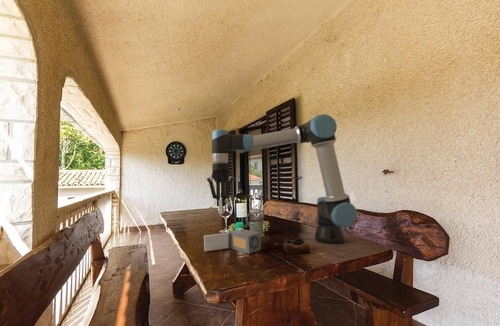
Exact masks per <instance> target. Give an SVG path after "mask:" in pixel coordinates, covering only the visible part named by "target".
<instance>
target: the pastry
mask: <svg viewBox="0 0 500 326" xmlns="http://www.w3.org/2000/svg"><path fill="white" fill-rule="evenodd" d="M282 249H283V251H284V252H285V254H287V255H306V254H310V250H311V247H310V245H309V244H308V242H306V241H305V240H304V239H302V238H300V237H299V238H294V239H293V240H292V239H286V240H284V241H283V243H282Z"/></svg>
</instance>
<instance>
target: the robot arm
mask: <svg viewBox="0 0 500 326" xmlns="http://www.w3.org/2000/svg"><path fill="white" fill-rule="evenodd" d="M337 127H338V125H337V123H336V120H335V118H333V117H332V116H331V115H328V114H325V113H321V114H319V115H316V116H313V118H311V119H310V120H308V121H306V122H305V123H303V124H300V125H296V126H294V128H290V129H284V130H279V131H273V132H268V133H267V132H266V133H262V134H256V135H252V134H247V133H244V134H243V133H240V134H239V133H237V134H229V132H228V130H226V129H214V130H213V131H212V134H211V154H212V155H211V156H212V157H211V159H212V160H211V161H212V165H211V166H212V167H211V168H212V172H211V176H209V177H207V178H206V180H207V182H208V186H209V189H210V192H211V195H212V199H215V200H216V207H218V215H223V214H224V207H226V199H229V198H230V196H231V190H232V185H233V183H234V180H235V177H233V176H232V175H230V172H229V151H235V152H236V153H238V154H243V153H246V152H251V151H256V150H260V149H261V150H262V149H267V148H272V147H279V146H284V145H289V144H295V143H296V144H299V145H300V144H304V143H305V144H309V143H310V144H311V147H313V148H314V149H315V152H316V157H317V161H318V165H319V169H320V174H321V179H322V182H323V186H324V187H323V188H324V191H325V195H326V196H321V197H317V200H316V209H317V227H316V230H315V233H314V240H315V241H316V242H318V243H323V244H330V245H332V244H333V245H335V244H336V245H337V244H343V243H344V242H345V235H344V232H343V229H342V228H348V227H350V226H352V225H354V224H355V221H356V220H357V218H358V210H357V209H356V207H355V206H354V205H353V204H352V202H351V199H350V195H349V194H347V193H345V189H344V184H343V179H342V175H341V171H340V167H339V164H338V159H337V154H336V150H335V145H334V144H335V142H336V141H337V139H336V138H337V137H336V135H335V133H336V131H337ZM213 180H214V182H215V185H214V182H213ZM227 180H228V184H227V188H226V182H227ZM226 189H227V190H226Z"/></svg>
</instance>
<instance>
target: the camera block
mask: <svg viewBox="0 0 500 326" xmlns="http://www.w3.org/2000/svg"><path fill="white" fill-rule="evenodd" d="M228 233H230V248H229V249H232V250H235V251H238V252H242V253H245V254H247V253H248V255H251V254H253V252H254V253H256V252H258V251H261V250H262V242H261V241H262V240H261V238H262V237H261V233H259V232H254V231H250V229H245V228H244V229H243V228H239V229H237V230H235V229H233V230H232V229H231V230H229V231H228ZM250 253H251V254H250Z"/></svg>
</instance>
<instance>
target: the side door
mask: <svg viewBox="0 0 500 326" xmlns="http://www.w3.org/2000/svg"><path fill="white" fill-rule="evenodd" d="M222 249H231V248H230V233H229V232H224V233H216V234H215V233H214V234H209V235H208V234H205V235H203V251H204V252H210V251H216V250H222Z"/></svg>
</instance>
